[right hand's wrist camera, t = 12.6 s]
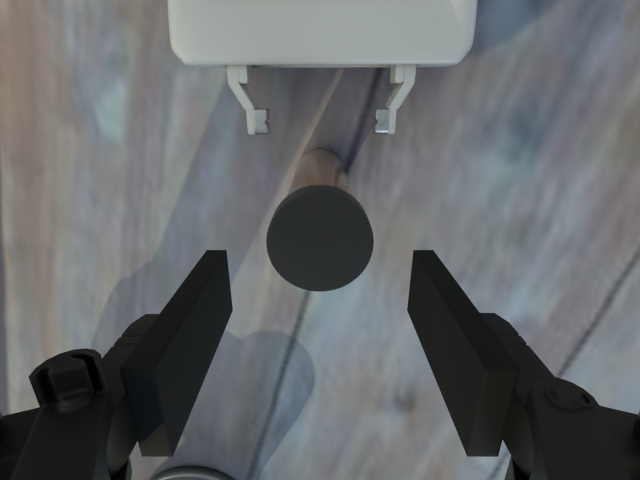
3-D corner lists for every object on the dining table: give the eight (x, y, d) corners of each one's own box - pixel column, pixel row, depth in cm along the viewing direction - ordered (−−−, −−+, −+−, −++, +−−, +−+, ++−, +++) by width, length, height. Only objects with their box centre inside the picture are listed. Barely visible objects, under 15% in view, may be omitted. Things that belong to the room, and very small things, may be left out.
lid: (368, 275, 20) (372, 289, 19) (275, 278, 20) (271, 293, 19) (369, 182, 18) (374, 190, 17) (266, 186, 18) (261, 194, 17)
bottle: (344, 195, 36) (365, 280, 19) (297, 197, 36) (278, 283, 19) (343, 147, 34) (365, 195, 17) (294, 149, 34) (270, 199, 17)
